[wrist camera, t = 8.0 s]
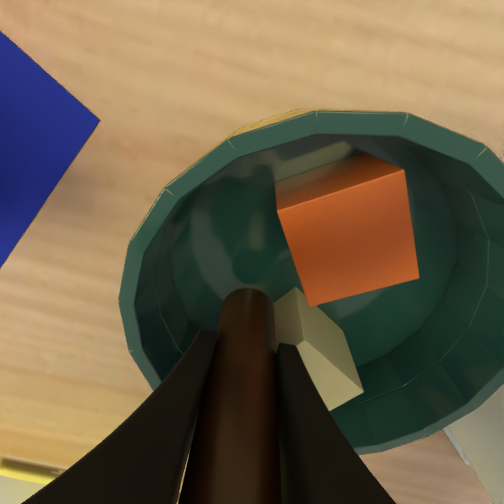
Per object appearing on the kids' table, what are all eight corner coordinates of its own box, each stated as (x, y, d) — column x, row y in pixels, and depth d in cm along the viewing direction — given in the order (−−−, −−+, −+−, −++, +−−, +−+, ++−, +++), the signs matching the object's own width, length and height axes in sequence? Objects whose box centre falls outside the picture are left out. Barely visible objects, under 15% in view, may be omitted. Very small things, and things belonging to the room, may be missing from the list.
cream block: (343, 330, 17) (364, 392, 13) (289, 366, 18) (294, 430, 14) (295, 285, 15) (304, 339, 12) (241, 327, 17) (235, 387, 13)
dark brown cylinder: (283, 315, 14) (309, 606, 6) (241, 336, 15) (211, 624, 6) (254, 278, 13) (236, 555, 5) (211, 302, 14) (134, 582, 6)
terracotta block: (380, 235, 14) (420, 279, 10) (298, 258, 15) (309, 307, 11) (365, 151, 12) (405, 169, 9) (273, 182, 13) (276, 210, 10)
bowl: (502, 305, 16) (593, 382, 12) (266, 405, 20) (266, 490, 16) (383, 19, 11) (465, -42, 6) (100, 233, 15) (31, 286, 11)
